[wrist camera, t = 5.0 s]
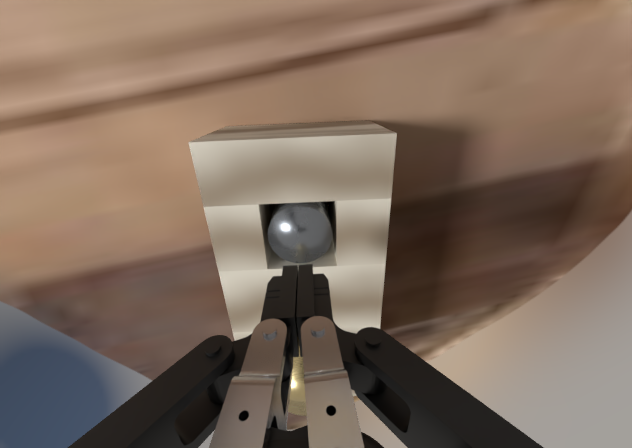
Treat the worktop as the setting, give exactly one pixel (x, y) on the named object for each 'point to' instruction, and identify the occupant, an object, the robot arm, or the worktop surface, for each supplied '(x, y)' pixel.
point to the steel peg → (300, 231)
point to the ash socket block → (295, 187)
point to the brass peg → (297, 388)
